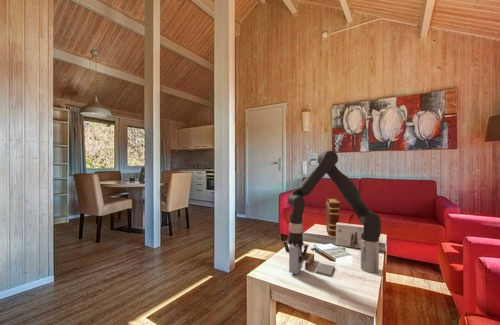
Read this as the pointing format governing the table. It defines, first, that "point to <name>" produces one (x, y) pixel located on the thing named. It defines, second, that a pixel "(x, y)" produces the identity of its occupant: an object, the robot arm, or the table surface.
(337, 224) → the skincare box
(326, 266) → the pad
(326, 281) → the table surface
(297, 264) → the block
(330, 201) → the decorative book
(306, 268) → the frame
